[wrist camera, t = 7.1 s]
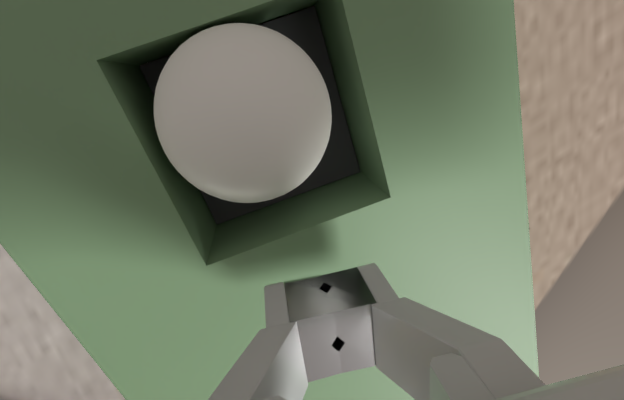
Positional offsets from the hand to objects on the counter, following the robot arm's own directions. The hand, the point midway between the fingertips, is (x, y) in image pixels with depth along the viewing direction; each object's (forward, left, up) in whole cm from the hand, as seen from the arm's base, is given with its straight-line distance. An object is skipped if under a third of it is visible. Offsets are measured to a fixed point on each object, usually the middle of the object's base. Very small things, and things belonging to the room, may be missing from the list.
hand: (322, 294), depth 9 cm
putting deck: (0, 0, -4) cm, 4 cm away
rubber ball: (0, +5, -2) cm, 5 cm away
